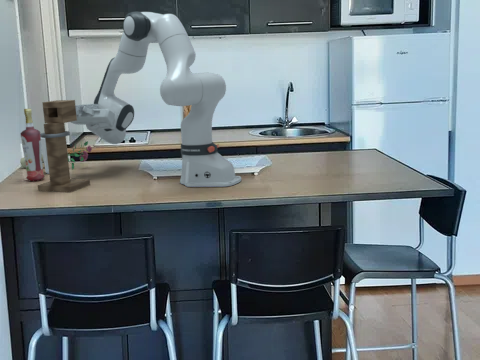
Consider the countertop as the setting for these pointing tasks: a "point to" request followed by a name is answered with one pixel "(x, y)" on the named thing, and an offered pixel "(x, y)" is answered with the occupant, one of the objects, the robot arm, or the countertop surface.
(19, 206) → the countertop surface
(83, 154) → the flower vase
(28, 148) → the liquor
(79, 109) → the gray square bar
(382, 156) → the countertop surface
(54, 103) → the rosette stand
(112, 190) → the countertop surface
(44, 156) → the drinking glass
